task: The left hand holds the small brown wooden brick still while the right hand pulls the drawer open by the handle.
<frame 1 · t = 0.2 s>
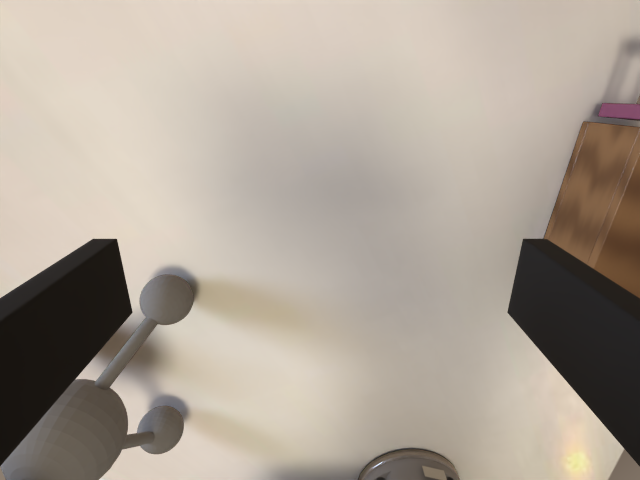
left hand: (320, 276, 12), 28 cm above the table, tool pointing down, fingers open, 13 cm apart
brown wooden brick: (577, 216, 41), on the table
drawer: (624, 177, 35), point 4 cm above the table, slide at 0.6 cm
molecular model: (144, 333, 46), on the table
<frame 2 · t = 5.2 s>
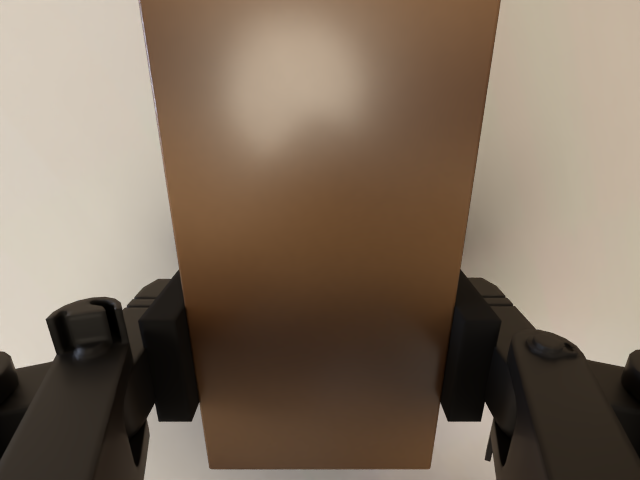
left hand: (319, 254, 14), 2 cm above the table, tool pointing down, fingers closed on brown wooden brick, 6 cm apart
brown wooden brick: (319, 82, 14), on the table, touching left hand
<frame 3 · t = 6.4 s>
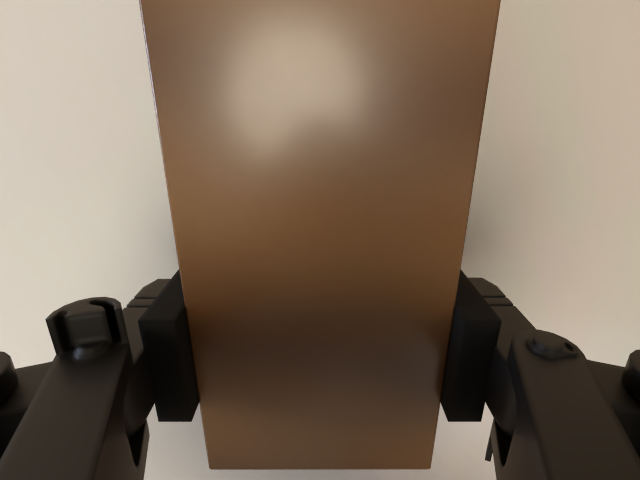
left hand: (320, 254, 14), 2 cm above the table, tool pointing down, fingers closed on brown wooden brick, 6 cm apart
brown wooden brick: (319, 82, 14), on the table, touching left hand
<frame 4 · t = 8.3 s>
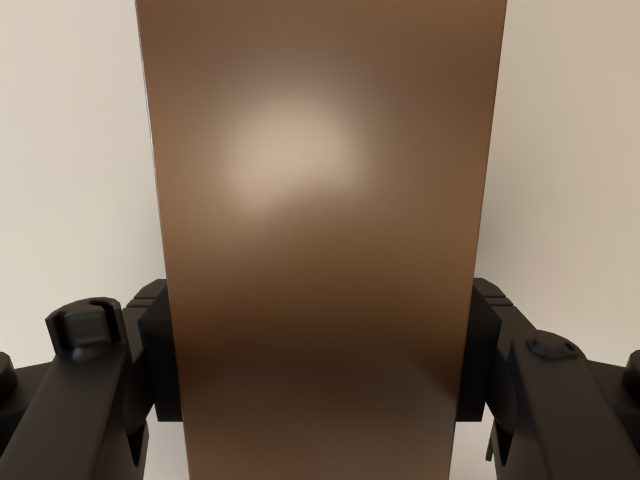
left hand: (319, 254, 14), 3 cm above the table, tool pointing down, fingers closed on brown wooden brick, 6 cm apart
brown wooden brick: (319, 95, 14), point 1 cm above the table, touching left hand
when the left hand's fingers open (2 cm above the table, at t = 9.6 s): brown wooden brick stays where it is, on the table.
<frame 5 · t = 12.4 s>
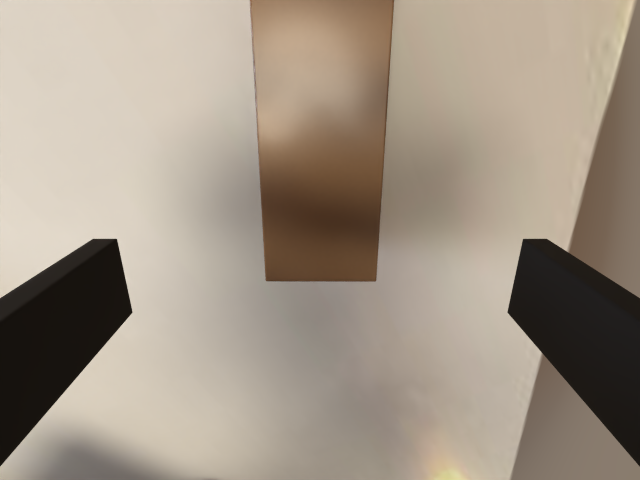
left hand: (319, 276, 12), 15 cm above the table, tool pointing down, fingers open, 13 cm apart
brown wooden brick: (321, 87, 24), on the table
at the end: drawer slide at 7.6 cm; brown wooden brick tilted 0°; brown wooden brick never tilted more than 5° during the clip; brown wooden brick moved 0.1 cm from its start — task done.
